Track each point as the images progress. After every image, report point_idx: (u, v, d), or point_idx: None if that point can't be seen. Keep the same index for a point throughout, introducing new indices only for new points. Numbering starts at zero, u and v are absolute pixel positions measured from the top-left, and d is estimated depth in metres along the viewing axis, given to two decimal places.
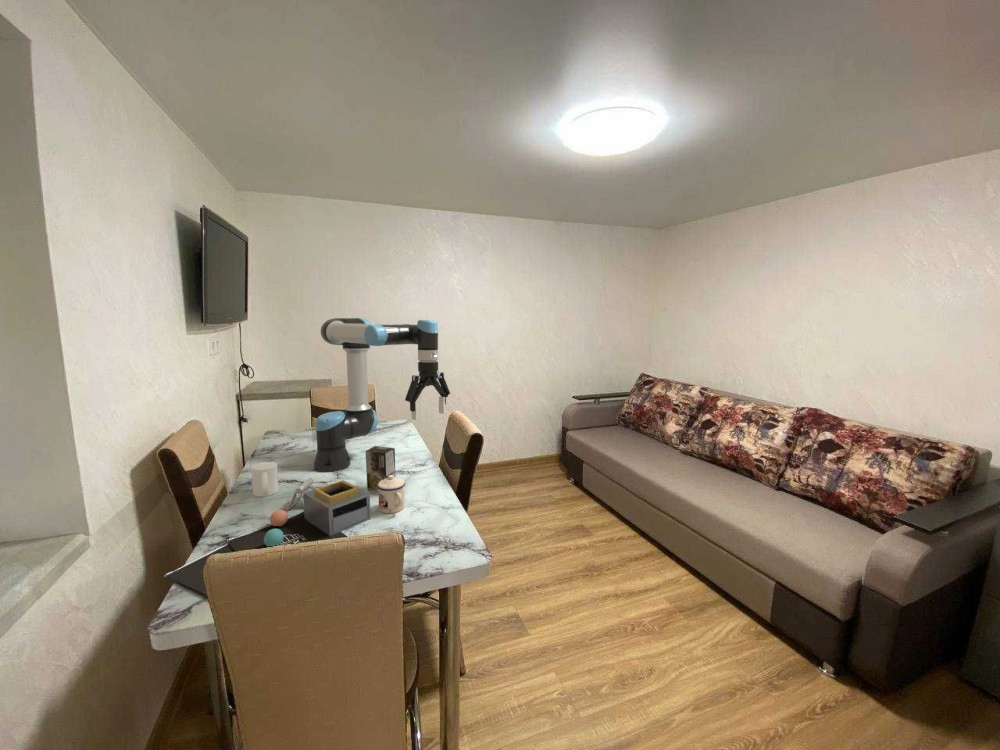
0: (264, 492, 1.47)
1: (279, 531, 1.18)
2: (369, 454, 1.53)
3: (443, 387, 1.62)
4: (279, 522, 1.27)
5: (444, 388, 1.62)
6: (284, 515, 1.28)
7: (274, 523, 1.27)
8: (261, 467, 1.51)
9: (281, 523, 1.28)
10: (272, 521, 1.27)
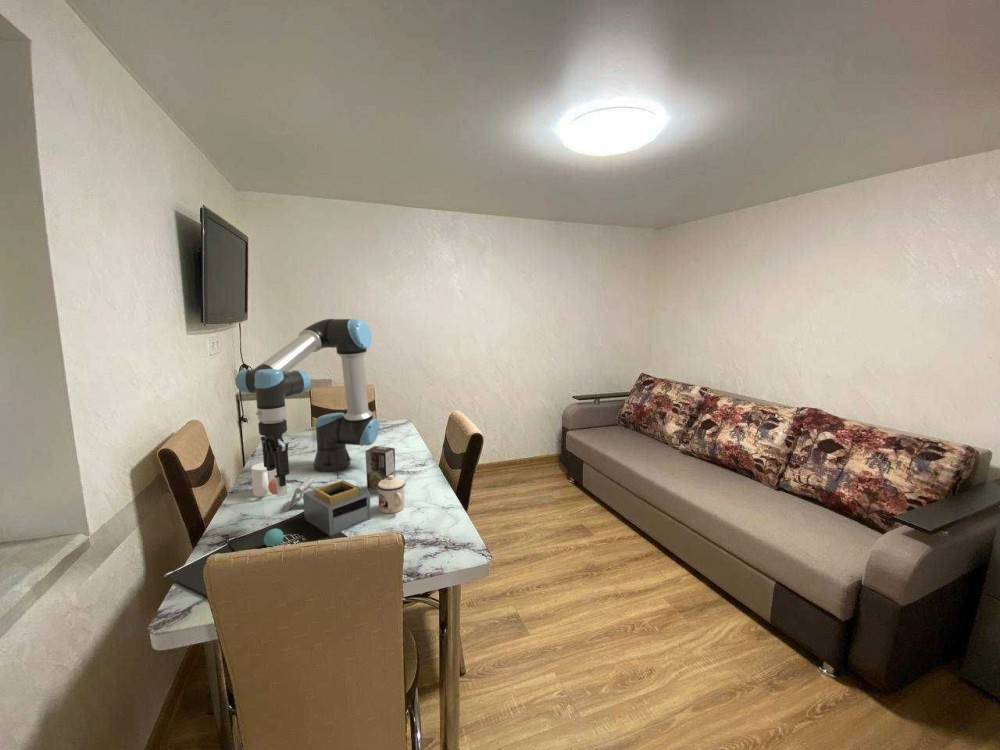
0: (264, 492, 1.47)
1: (279, 531, 1.18)
2: (369, 454, 1.53)
3: None
4: None
5: None
6: None
7: (272, 490, 1.26)
8: (261, 467, 1.51)
9: None
10: (270, 488, 1.26)
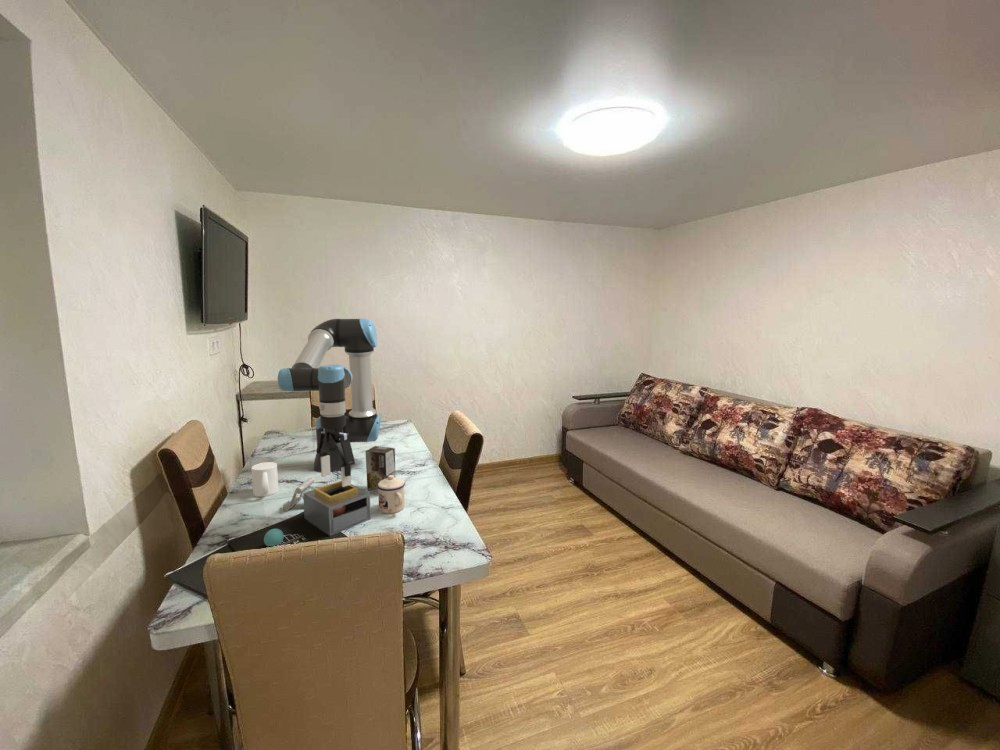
0: (264, 492, 1.47)
1: (279, 531, 1.18)
2: (369, 454, 1.53)
3: None
4: (338, 514, 1.31)
5: None
6: (342, 508, 1.33)
7: (333, 515, 1.31)
8: (261, 467, 1.51)
9: None
10: None
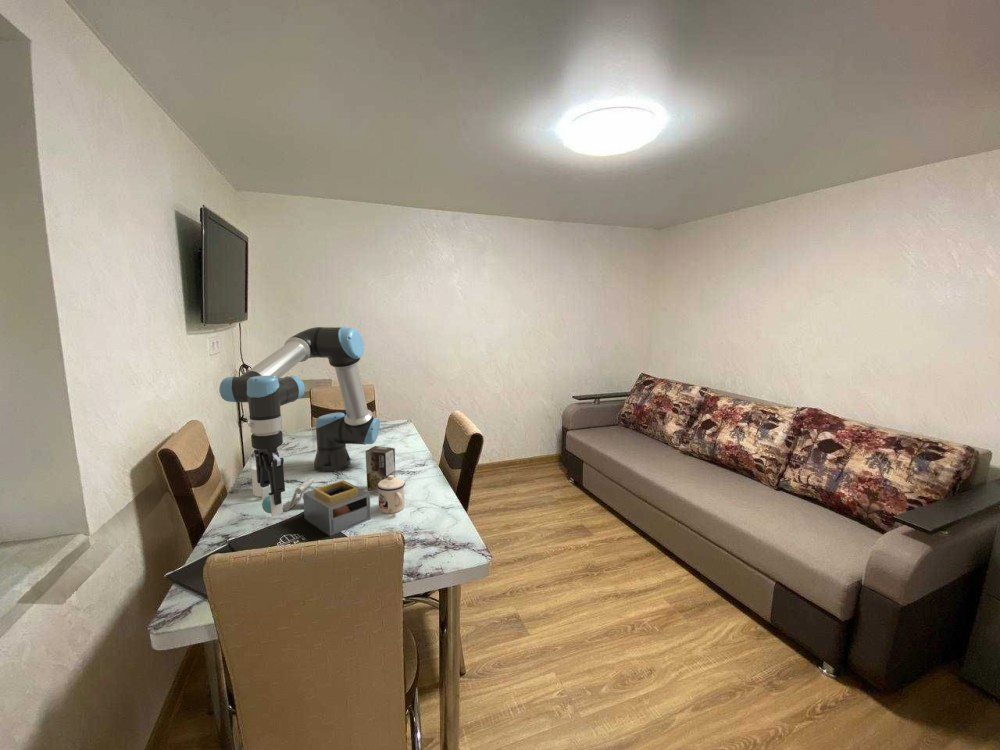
0: None
1: None
2: (369, 454, 1.53)
3: None
4: None
5: None
6: None
7: None
8: None
9: None
10: None
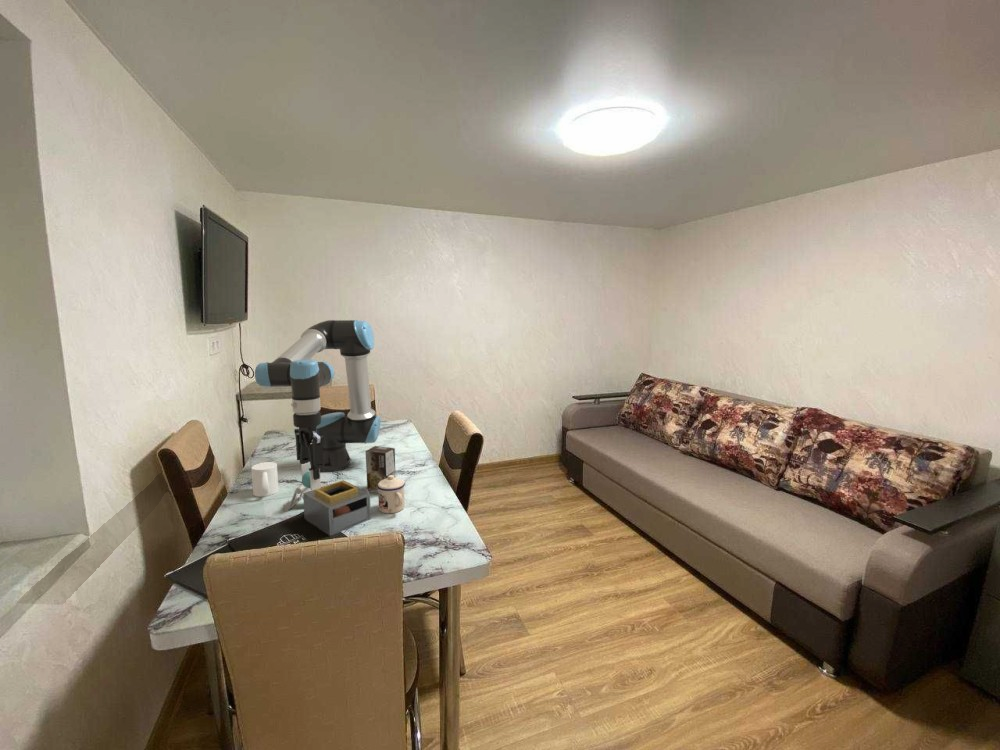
0: (264, 492, 1.47)
1: None
2: (369, 454, 1.53)
3: None
4: None
5: None
6: None
7: None
8: (261, 467, 1.51)
9: None
10: None
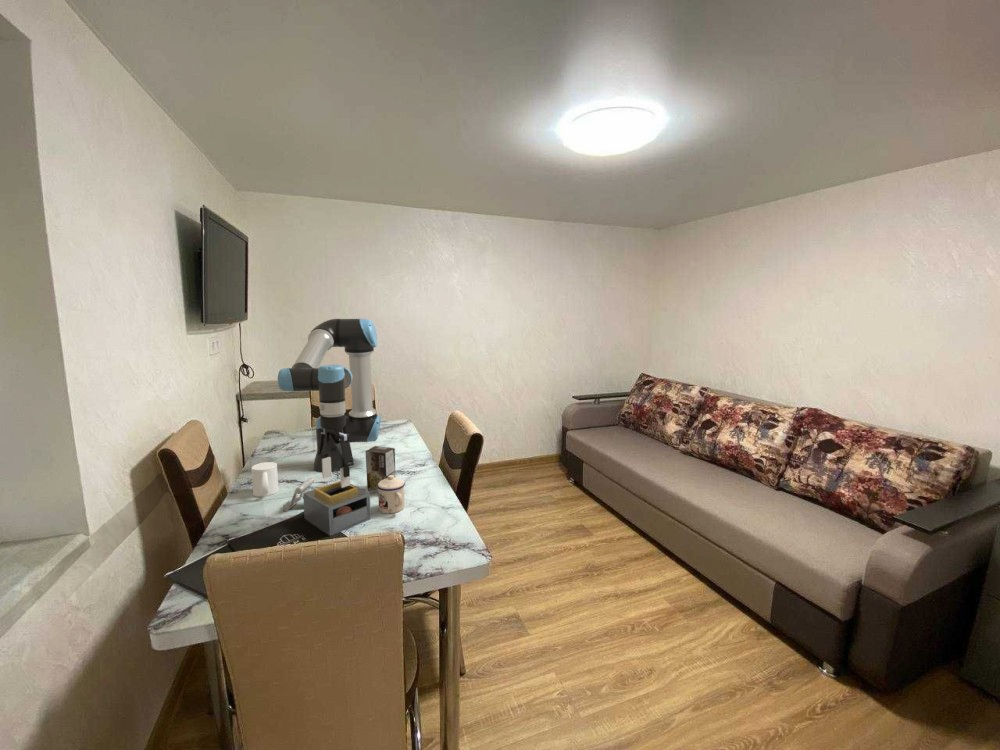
0: (264, 492, 1.47)
1: None
2: (369, 454, 1.53)
3: None
4: None
5: None
6: None
7: None
8: (261, 467, 1.51)
9: None
10: None
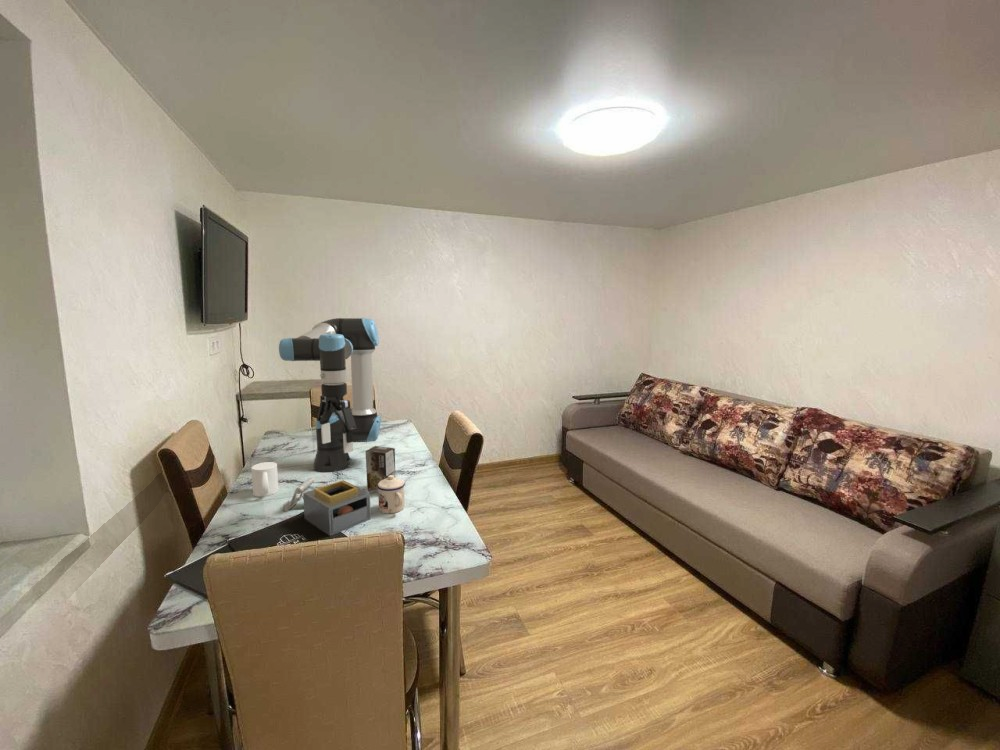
0: (264, 492, 1.47)
1: None
2: (369, 454, 1.53)
3: None
4: None
5: None
6: None
7: None
8: (261, 467, 1.51)
9: None
10: None
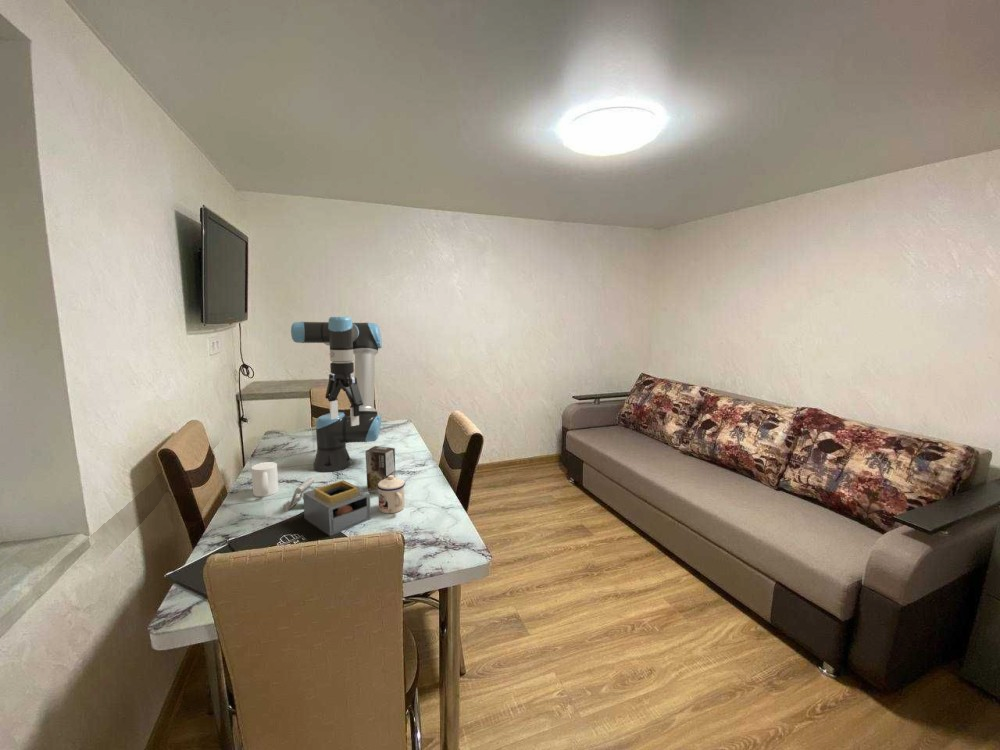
0: (264, 492, 1.47)
1: None
2: (369, 454, 1.53)
3: None
4: None
5: None
6: None
7: None
8: (261, 467, 1.51)
9: None
10: None
